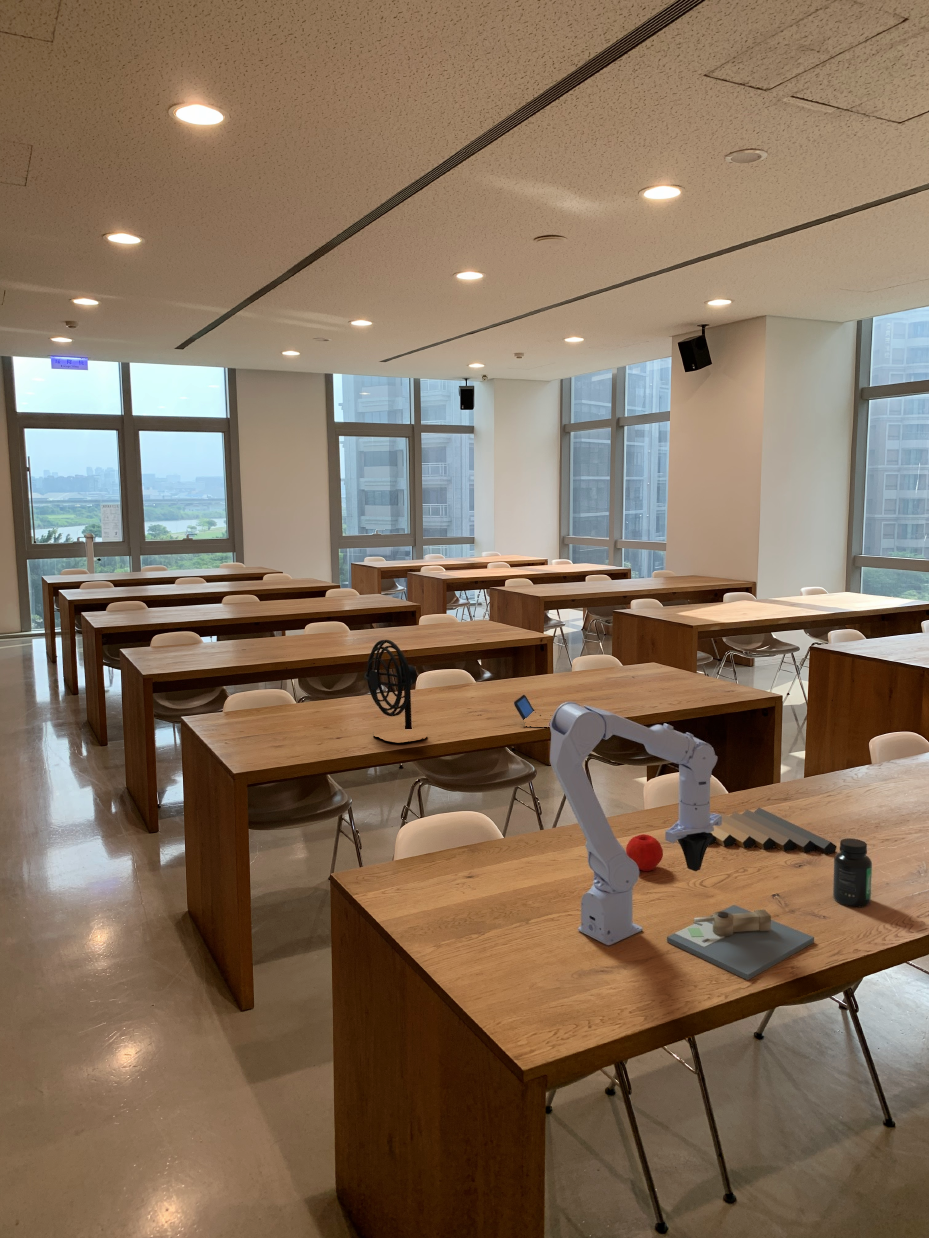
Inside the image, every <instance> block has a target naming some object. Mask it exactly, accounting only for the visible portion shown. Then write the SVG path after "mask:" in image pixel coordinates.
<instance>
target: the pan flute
mask: <svg viewBox="0 0 929 1238" xmlns="http://www.w3.org/2000/svg"><path fill="white" fill-rule="evenodd" d="M720 815H721V816H722V825H720V826H716V825H715V826H713V827H714V831H712V832H710V833H712V834H713V839H712V840H711V842H710V843H709V845H708V846H711V845H714V844H716V843H717V844H719V845H720V846H722V847H724V848H728V847H732V846H735V845H737V846H739V847H741V848H743V849H744V850H745V849H750V848H754V846H756V847H758V848H760V849H762V850H763V851H768V850H772V849H773V850H774V848H777V849H779V850H780V851H783V852H785V853H786V852H790V851H791V852H792V851H794V850H795V849H796V850H798V851H800V852H802V853H804V854H808V853H809V854H810V853H814V852H815V851H817V852H819V853H821V854H823V855H825V856H828V855H835V854H836V852H837V848H838V846H837V845H836V844H835V843H833V842H831V841H830V840H828V839H825V838H823V837H821V836H819V835H817V834H815V833H814V832H811V831H809V830H807V829H805V828H803V827H800V826H799V825H797V824H795V823H792V822H790V821H788V820H786V819H784V818H782V817H780V816H778V815H776V814H774V813H772V812H770V811H767V810H765V809H763V808H761V807H757V809H755V810H754V811H752V810H749V809H746V810H745V811H744V812H743V813H739V812H737V811H735V810H734V811H733V813H731V815H730V816H729V815H727V814H726V813H721V814H720Z"/></svg>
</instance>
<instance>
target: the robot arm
mask: <svg viewBox="0 0 929 1238" xmlns="http://www.w3.org/2000/svg"><path fill="white" fill-rule="evenodd" d="M552 716H553V717H552V719H551V721H550V723H549V726H550V727H549V729H550V733H551V736H550V737H551V738H550V749H549V751H550V752H549V762H550V765H551V768H552V770H553V772H554V774H555V777H556V779H557V781H558V783H559V785H560V787H561V789H562V791H563V793H564V795H565V798H566V800H567V801H568V804H569V806H570V808H571V810H572V812H573V815H574V816H575V817H574V818H575V819H576V821H577V823H578V826H579V827H580V830H581V832H582V834H583V836H584V838H585V840H586V842H585V844H584V847H585V848H586V852H587V863H588V866H589V868H590V870H592V872H593V881H592V886H591V888H590V889H589V890H588V891H586V892H585V893H584V894H583V895H582V897H581V900H580V926H578V928H577V931H579V932H581V933H582V934H585V935H587V936H588V937H590V938H592V939H594V940H597V941H598V942H600V943H602V944H604V945H606V946H611V945H613V944H616V943H618V942H620V941H622V940H624V939H627V938H628V937H631V936H633V935H635V934H637V933H640V932H641V931H643V927H642V926H641V925H638V924H636V923H634V922H633V913H634V911H633V909H634V907H633V906H634V905H633V895H634V894H633V891H634V889H633V888H634V886H635V885H636V884H637V883H638V880H639V878H640V870H639V868H638V865H637V864H636V862H635V861H633V860H632V859H631V858H629V857H628V855H627V854H626V849H625V848H624V847H623V846H622V844H621V843H620V842H619V840H618V839H617V837H616V836H615V834H614V831H613V830H612V828H611V825H610V822H609V821H608V818H607V816H606V814H605V813H604V810H603V808H602V804H601V803H600V801H599V799H598V797H597V795H596V793H595V791H594V788H593V785H592V784H591V782H590V780H589V778H588V775H587V773H586V771H585V769H584V766H583V763H584V761H585V760H586V759H587V757H588V756H589V755H590V754H591V753H592V751H593V750H594V749H595V748H596V747H597V745H598V744H599V743H600V742H601V740H602V739H603V740H609V738H611V737H612V736H613V735H615V736H617V737H621V738H624V739H627V740H630V741H634V742H637V743H639V744H643V746H644V748H645V750H646V752H647V753H648V754H649V755H653V756H655V757H658V758H660V759H664V760H665V761H668V762H671V763H674V764H678V771H679V772H678V775H679V776H678V820H677V821H676V822H675V823H674V824H673V825H671V827H670V828H669V829H666V830H664V831H665V833H664V834H665V835H664V836H665V839H664V840H665V841H666V842H669V843H672V844H675V843H677V842H678V843H679V846H680V847H681V849H682V852H683V857H684V861H685V864H686V867H687V869H688V870H691V871H694V872H698V871H700V870H701V867H702V864H703V860H704V857H705V854H706V852H707V849H708V847H709V846H710V845H709V843H710V842H711V840H712V839H713V834H712V833H710V832H712V831H714V827H713V826H715V825H716V826H720V825H722V816H721V814H718V813H715V812H714V813H711V778H712V771H713V769H714V768H715V766H716V764H717V762H718V756H717V755H716V753H715V750H714V747H712V745H711V744H710V743H709V742H705V741H703V740H701V739H699V738H697V737H695V736H694V734H692V733H690V732H685V733H683V732H681V731H677V730H675V729H674V726H672V725H670V724H667V723H663V725H662V724H654V725H652V726H650V727H647V726H644V725H643V724H639V723H637V722H635V721H632V720H630V719H627V718H626V717H623V716H620V715H618V714H616V713H613V712H611V711H608V710H605V709H602V708H599V707H598V708H597V707H594V706H591V705H586V704H583V705H582V706H581V705H580V704H579V703H577V702H575V701H566V702H563V703H561V704H560V705H559V706H558V707H557V708H556V709H555V711H554V712H553V715H552Z"/></svg>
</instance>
